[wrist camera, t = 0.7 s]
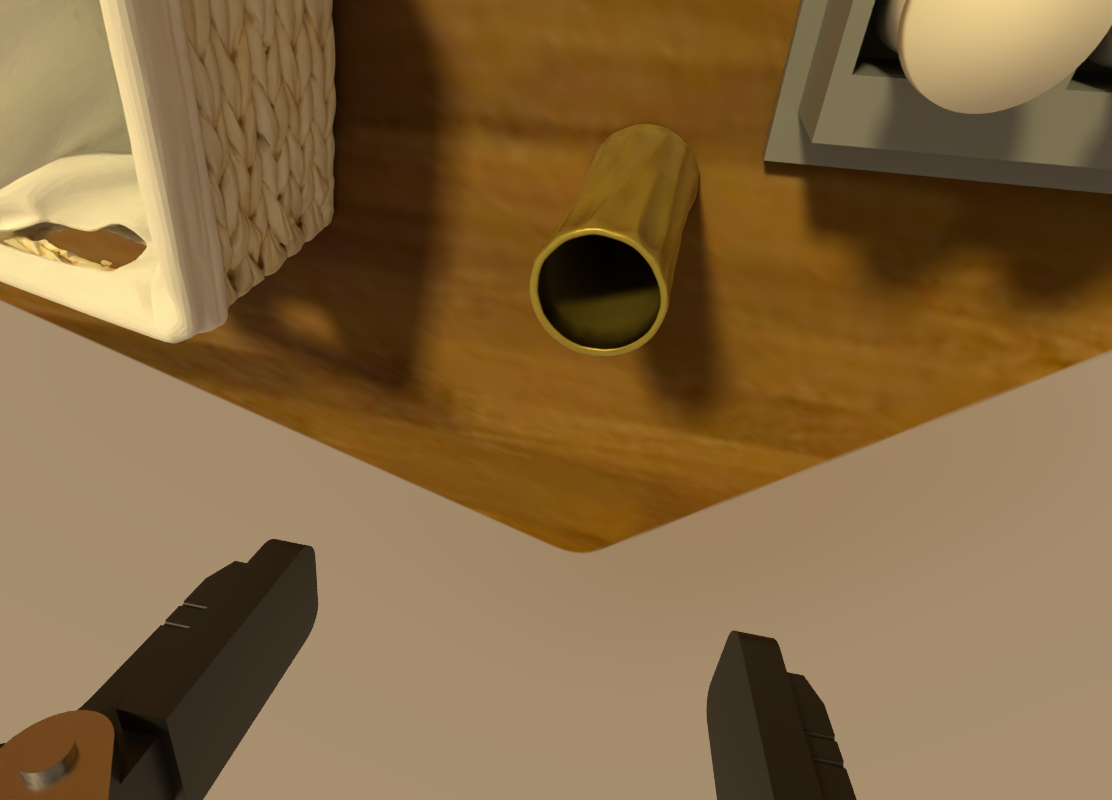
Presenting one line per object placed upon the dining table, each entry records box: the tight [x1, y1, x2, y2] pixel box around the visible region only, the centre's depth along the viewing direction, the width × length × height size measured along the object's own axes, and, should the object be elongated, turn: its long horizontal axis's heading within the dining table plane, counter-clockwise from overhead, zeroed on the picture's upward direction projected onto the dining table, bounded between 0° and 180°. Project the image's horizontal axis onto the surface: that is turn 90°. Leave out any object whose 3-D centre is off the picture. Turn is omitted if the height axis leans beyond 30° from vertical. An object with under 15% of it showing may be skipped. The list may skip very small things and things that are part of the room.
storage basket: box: [0, 0, 336, 343], centre depth 26 cm, size 24×16×15 cm
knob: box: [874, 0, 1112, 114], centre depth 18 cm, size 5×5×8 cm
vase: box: [529, 124, 699, 357], centre depth 26 cm, size 6×6×14 cm
